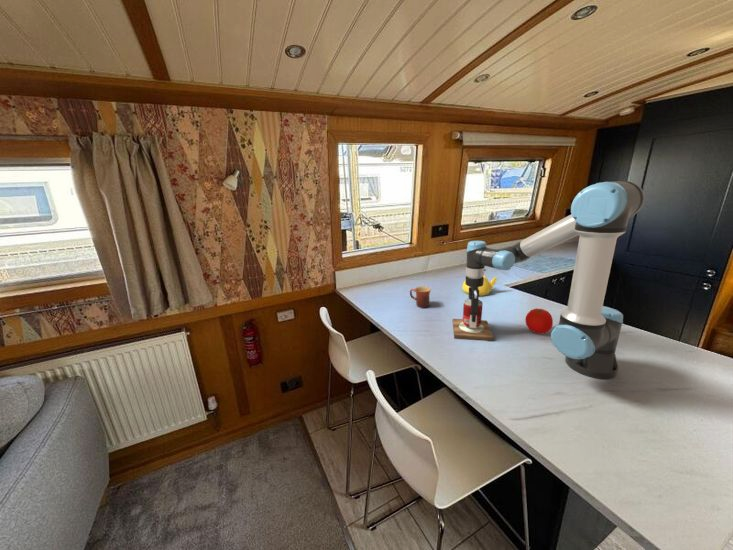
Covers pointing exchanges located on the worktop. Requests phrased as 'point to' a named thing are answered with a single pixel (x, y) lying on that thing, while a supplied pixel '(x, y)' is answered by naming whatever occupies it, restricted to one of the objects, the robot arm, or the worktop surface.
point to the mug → (421, 296)
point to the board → (472, 331)
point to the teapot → (482, 287)
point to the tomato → (539, 321)
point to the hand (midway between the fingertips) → (471, 323)
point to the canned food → (468, 311)
